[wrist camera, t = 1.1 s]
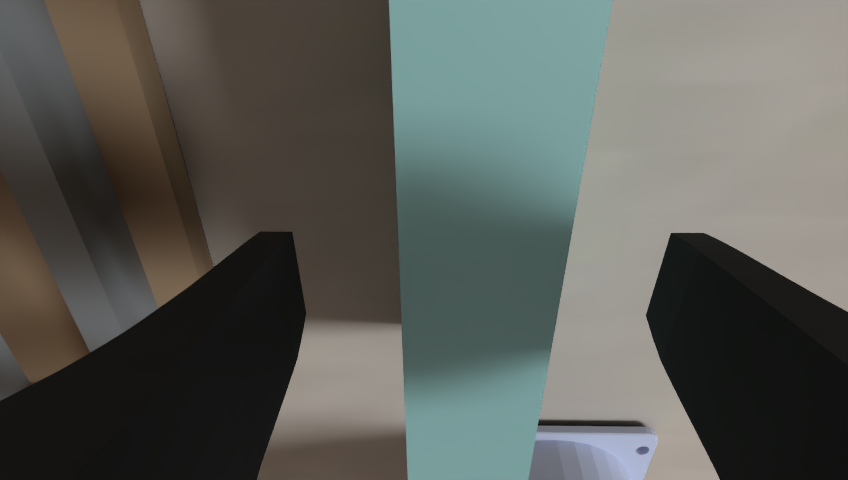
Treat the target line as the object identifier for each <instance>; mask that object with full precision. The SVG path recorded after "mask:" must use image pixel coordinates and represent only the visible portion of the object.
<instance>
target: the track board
mask: <svg viewBox="0 0 848 480" xmlns="http://www.w3.org/2000/svg"><path fill="white" fill-rule="evenodd" d="M212 268H213V264H212V260H211V257H210V253H209V250H208V246H207V243H206V239H205V235H204V232H203V228H202V225H201V221H200V217H199V214H198V210H197V207H196V203H195V200H194V196H193V192H192V189H191V185H190V182H189V178H188V174H187V171H186V167H185V164H184V160H183V157H182V153H181V149H180V146H179V142H178V139H177V135H176V131H175V128H174V124H173V121H172V117H171V114H170V110H169V106H168V103H167V99H166V96H165V92H164V88H163V85H162V81H161V78H160V74H159V71H158V67H157V63H156V60H155V56H154V53H153V49H152V45H151V42H150V38H149V35H148V31H147V28H146V24H145V20H144V17H143V13H142V10H141V6H140V2H139V0H0V401H1V400H3V399H5V398H7V397H9V396H11V395H13V394H15V393H16V392H18V391H20V390H22V389H24V388H26V387H28V386H30V385H32V384H34V383H36V382H38V381H40V380H42V379H44V378H46V377H48V376H49V375H51V374H53V373H55V372H57V371H59V370H61V369H63V368H64V367H66V366H68V365H70V364H72V363H73V362H75V361H77V360H78V359H80V358H82V357H83V356H85V355H87V354H89V353H90V352H92V351H94V350H95V349H97V348H99V347H100V346H102V345H104V344H106V343H107V342H109V341H110V340H112V339H113V338H115V337H117V336H118V335H120V334H121V333H123V332H125V331H126V330H128V329H129V328H131V327H132V326H134V325H135V324H137V323H138V322H140V321H141V320H142V319H144V318H145V317H147V316H148V315H150V314H151V313H152V312H154V311H155V310H157V309H158V308H159V307H161V306H162V305H164V304H165V303H167V302H168V301H169V300H171V299H172V298H174V297H175V296H177V295H178V294H179V293H181V292H182V291H184V290H185V289H186V288H188V287H189V286H190V285H191V284H193V283H194V282H195V281H197V280H198V279H199V278H201V277H202V276H203V275H204V274H206V273H207V272H208V271H210V270H211V269H212Z"/></svg>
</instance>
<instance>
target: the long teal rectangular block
mask: <svg viewBox="0 0 848 480" xmlns="http://www.w3.org/2000/svg"><path fill="white" fill-rule="evenodd" d="M612 1H613V0H389V17H390V42H391V67H392V93H393V118H394V143H395V169H396V194H397V219H398V245H399V270H400V296H401V321H402V346H403V372H404V397H405V422H406V448H407V473H408V480H528V478H529V473H530V467H531V461H532V455H533V450H534V444H535V438H536V433H537V427H538V421H539V416H540V410H541V404H542V399H543V393H544V387H545V382H546V376H547V370H548V365H549V359H550V353H551V348H552V342H553V336H554V331H555V325H556V319H557V314H558V308H559V302H560V297H561V291H562V285H563V279H564V274H565V268H566V262H567V257H568V251H569V245H570V240H571V234H572V228H573V223H574V217H575V211H576V206H577V200H578V194H579V189H580V183H581V177H582V172H583V166H584V160H585V155H586V149H587V143H588V138H589V132H590V126H591V120H592V115H593V109H594V103H595V98H596V92H597V86H598V81H599V75H600V69H601V64H602V58H603V52H604V47H605V41H606V35H607V30H608V24H609V18H610V13H611V7H612Z"/></svg>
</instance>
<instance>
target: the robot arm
mask: <svg viewBox="0 0 848 480" xmlns="http://www.w3.org/2000/svg"><path fill="white" fill-rule="evenodd" d="M305 317H306V310H305V304H304V298H303V292H302V286H301V281H300V275H299V269H298V263H297V257H296V251H295V246H294V240H293V234H292V232H259V233H258V234H256V235H255V236H254V237H252V238H251V239H249V240H248V241H247V242H245V243H244V244H243V245H242V246H240V247H239V248H238V249H236V250H235V251H234V252H233V253H231V254H230V255H229V256H228V257H226V258H225V259H224V260H222V261H221V262H220V263H219V264H217V265H216V266H215V267H214V268H212V269H211V270H210V271H208V272H207V273H206V274H204V275H203V276H202V277H201V278H199V279H198V280H197V281H195V282H194V283H193V284H191V285H190V286H189V287H188V288H186V289H185V290H184V291H182V292H181V293H179V294H178V295H177V296H175V297H174V298H172V299H171V300H169V301H168V302H167V303H165V304H164V305H162V306H161V307H159V308H158V309H157V310H155V311H154V312H152V313H151V314H150V315H148V316H147V317H145V318H144V319H142V320H141V321H140V322H138V323H137V324H135V325H134V326H132V327H131V328H129V329H128V330H126V331H125V332H123V333H121V334H120V335H118V336H117V337H115V338H113V339H112V340H110V341H109V342H107V343H106V344H104V345H102V346H100V347H99V348H97V349H95V350H94V351H92V352H90V353H89V354H87V355H85V356H83V357H82V358H80V359H78V360H77V361H75V362H73V363H72V364H70V365H68V366H66V367H64V368H63V369H61V370H59V371H57V372H55V373H53V374H51V375H49V376H48V377H46V378H44V379H42V380H40V381H38V382H36V383H34V384H32V385H30V386H28V387H26V388H24V389H22V390H20V391H18V392H16V393H15V394H13V395H11V396H9V397H7V398H5V399H3V400H1V401H0V480H257V476H258V473H259V470H260V466H261V463H262V460H263V457H264V454H265V452H266V449H267V446H268V443H269V440H270V437H271V434H272V431H273V428H274V426H275V423H276V420H277V417H278V414H279V411H280V408H281V405H282V402H283V400H284V397H285V394H286V391H287V388H288V385H289V382H290V379H291V376H292V373H293V370H294V367H295V364H296V361H297V357H298V353H299V348H300V343H301V339H302V333H303V328H304V322H305ZM646 317H647V321H648V324H649V327H650V330H651V333H652V337H653V340H654V343H655V346H656V348H657V351H658V354H659V357H660V360H661V362H662V364H663V366H664V368H665V371H666V373H667V375H668V377H669V379H670V381H671V383H672V385H673V387H674V389H675V391H676V393H677V395H678V397H679V399H680V401H681V403H682V405H683V407H684V409H685V411H686V413H687V415H688V417H689V418H690V420H691V422H692V424H693V426H694V428H695V430H696V432H697V434H698V436H699V438H700V440H701V442H702V444H703V446H704V448H705V450H706V452H707V454H708V456H709V458H710V460H711V462H712V464H713V466H714V468H715V470H716V472H717V474H718V476H719V479H720V480H848V312H847V311H845V310H843V309H841V308H839V307H838V306H836V305H834V304H832V303H830V302H828V301H827V300H825V299H823V298H821V297H819V296H817V295H816V294H814V293H812V292H810V291H809V290H807V289H805V288H803V287H801V286H800V285H798V284H796V283H794V282H793V281H791V280H789V279H787V278H786V277H784V276H782V275H780V274H779V273H777V272H775V271H774V270H772V269H770V268H768V267H767V266H765V265H763V264H761V263H760V262H758V261H756V260H754V259H753V258H751V257H749V256H747V255H746V254H744V253H742V252H740V251H738V250H737V249H735V248H733V247H731V246H729V245H727V244H725V243H724V242H722V241H720V240H718V239H716V238H714V237H711V236H709V235H707V234H705V233H671V235H670V238H669V242H668V245H667V248H666V251H665V255H664V258H663V261H662V264H661V268H660V271H659V274H658V278H657V281H656V284H655V287H654V291H653V294H652V297H651V301H650V304H649V307H648V310H647V314H646ZM657 442H658V438H657V435H656V433H655V431H654V430H653V429H652V428H649V427H626V426H538V427H537V433H536V438H535V444H534V450H533V455H532V461H531V467H530V473H529V478H528V480H643V479H644V476H645V474H646V471H647V468H648V466H649V463H650V460H651V458H652V455H653V453H654V450H655V447H656V445H657Z"/></svg>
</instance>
